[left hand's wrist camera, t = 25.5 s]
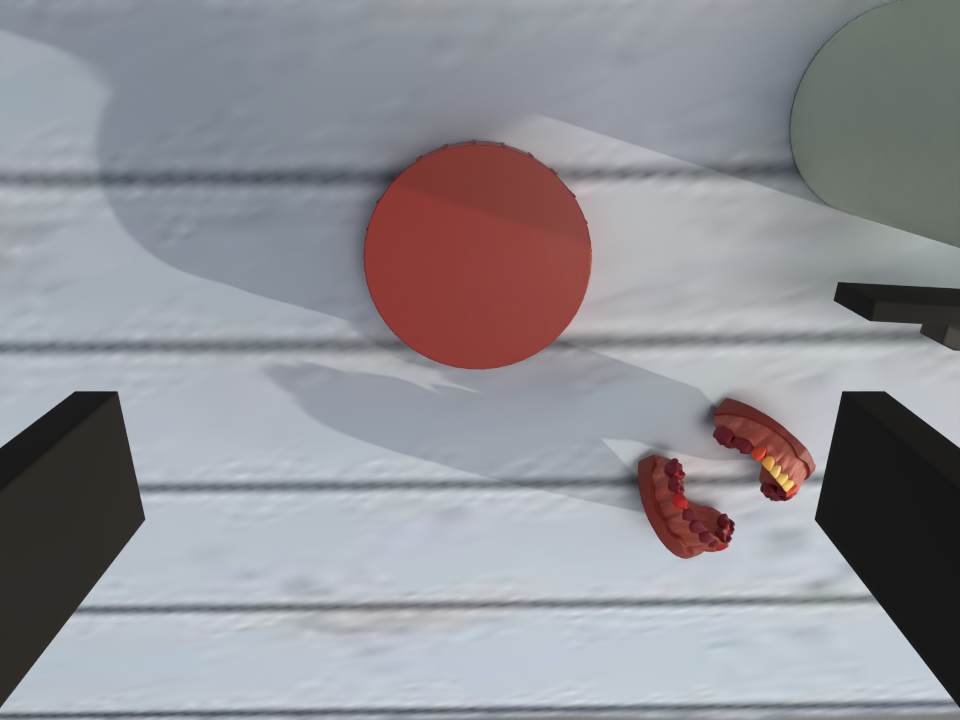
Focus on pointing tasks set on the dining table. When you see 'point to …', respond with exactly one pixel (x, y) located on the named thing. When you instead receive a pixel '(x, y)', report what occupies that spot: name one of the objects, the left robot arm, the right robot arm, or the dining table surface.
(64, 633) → the dining table surface
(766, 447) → the dental model
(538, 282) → the lid
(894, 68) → the jar
